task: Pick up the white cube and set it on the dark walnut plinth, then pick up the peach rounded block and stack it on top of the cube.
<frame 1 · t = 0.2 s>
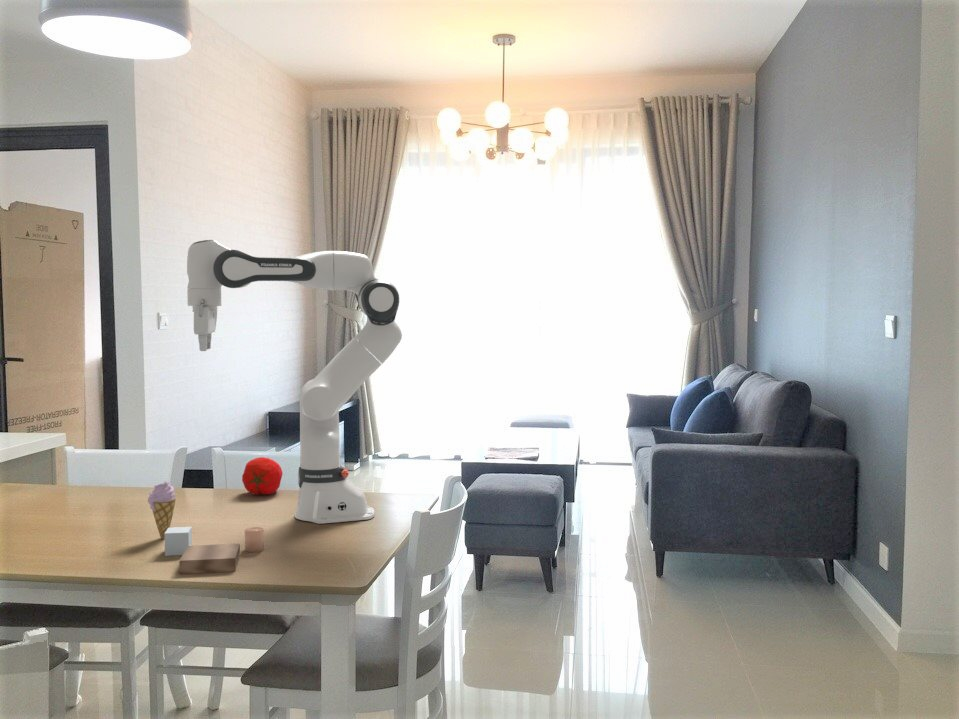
hand: (205, 350, 235), 48 cm above the table, fingers open, 8 cm apart
walnut plinth: (211, 564, 199), on the table
white cube: (178, 552, 209), on the table
ice cream cone: (162, 539, 221), on the table
tomato: (262, 494, 273), on the table
peach rounded block: (254, 549, 211), on the table
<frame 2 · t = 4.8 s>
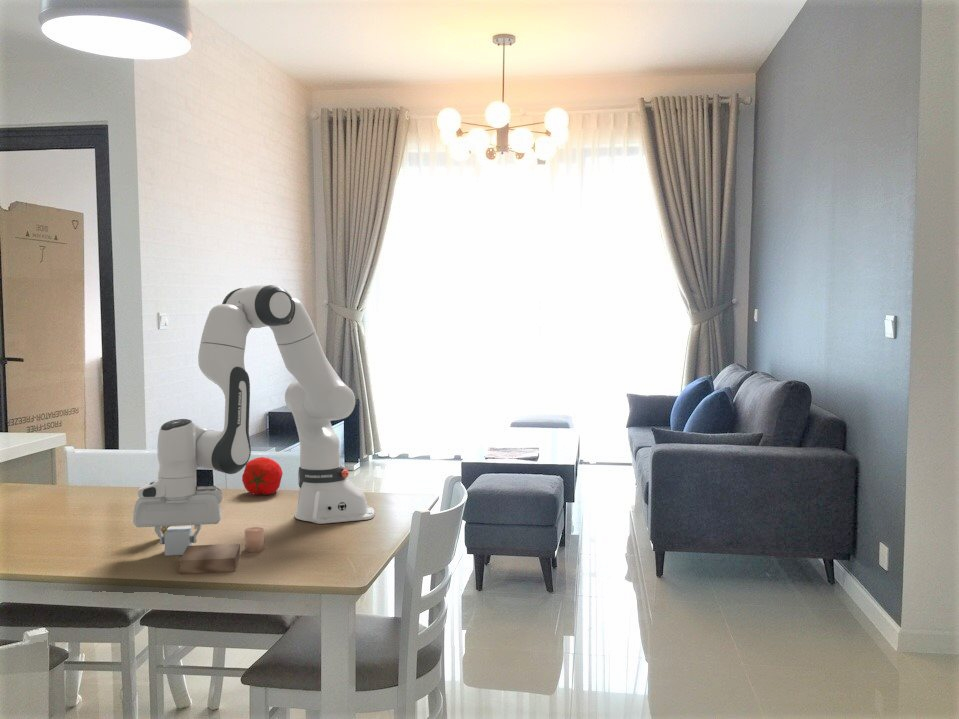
hand: (178, 543, 209), 2 cm above the table, fingers closed on white cube, 5 cm apart
white cube: (178, 551, 209), on the table, touching gripper
everything else where it was.
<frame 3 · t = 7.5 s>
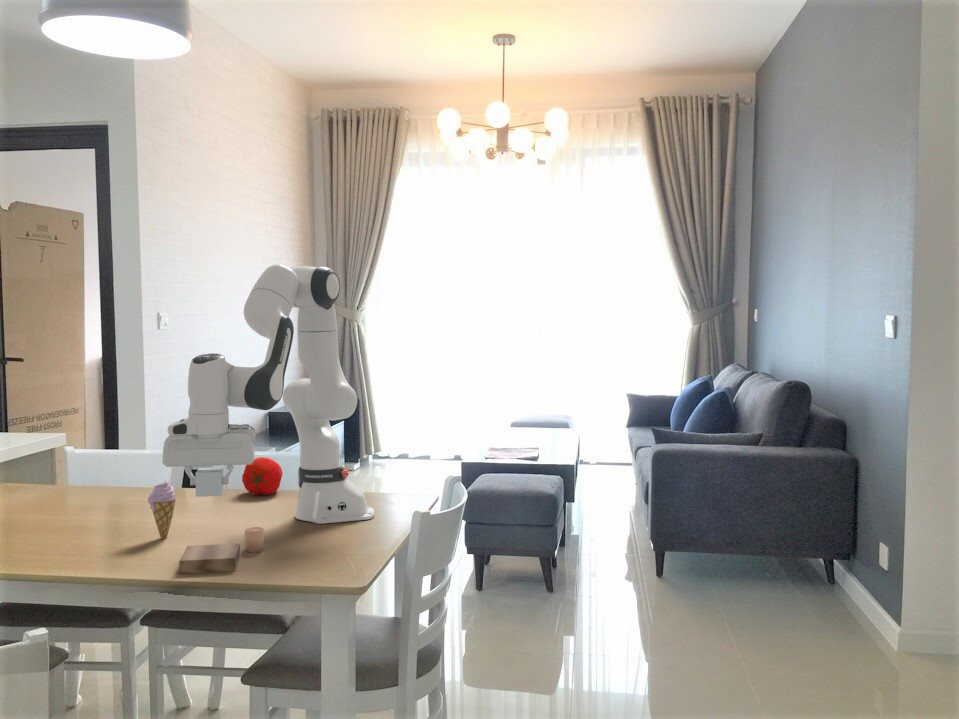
hand: (209, 484, 198), 19 cm above the table, fingers closed on white cube, 5 cm apart
white cube: (209, 493, 198), point 17 cm above the table, touching gripper
everything else where it was.
when the fingers open (6 cm above the table, at t = 10.3 s): white cube stays where it is, resting on walnut plinth.
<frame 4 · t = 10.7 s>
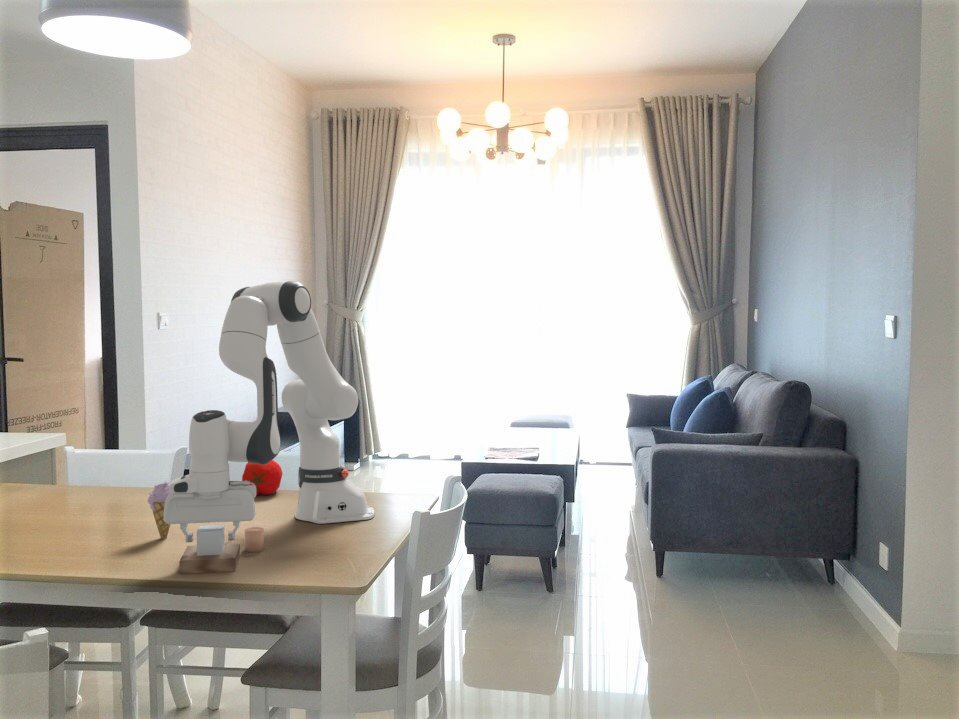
hand: (210, 540, 198), 6 cm above the table, fingers open, 8 cm apart
white cube: (211, 551, 199), point 3 cm above the table, touching walnut plinth
everything else where it was.
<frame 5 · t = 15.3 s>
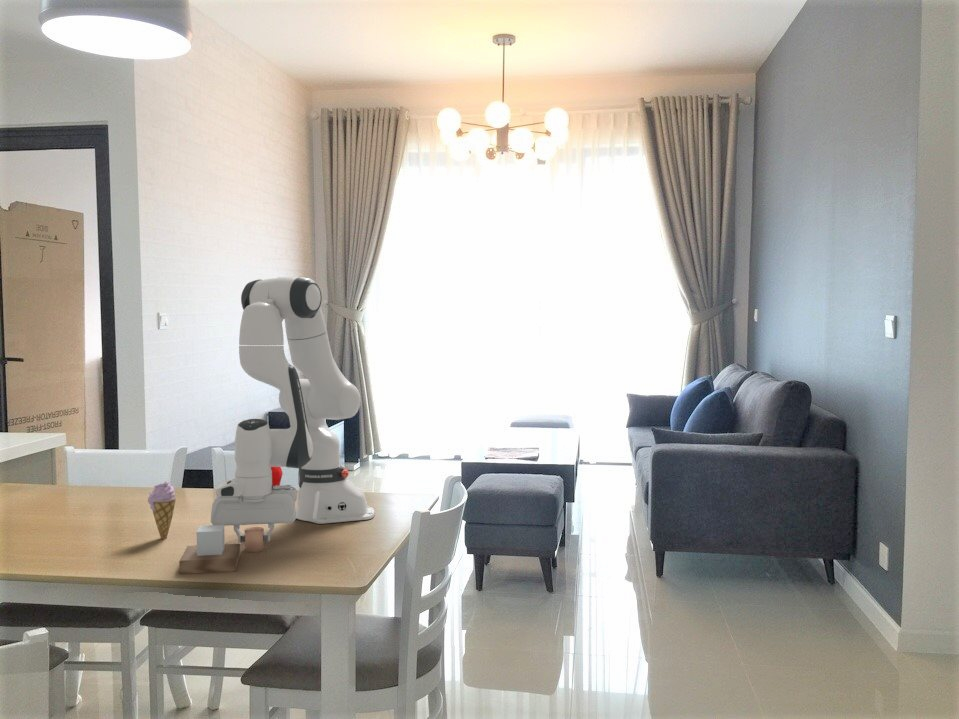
hand: (254, 541, 211), 2 cm above the table, fingers closed on peach rounded block, 5 cm apart
peach rounded block: (254, 549, 211), on the table, touching gripper
everything else where it was.
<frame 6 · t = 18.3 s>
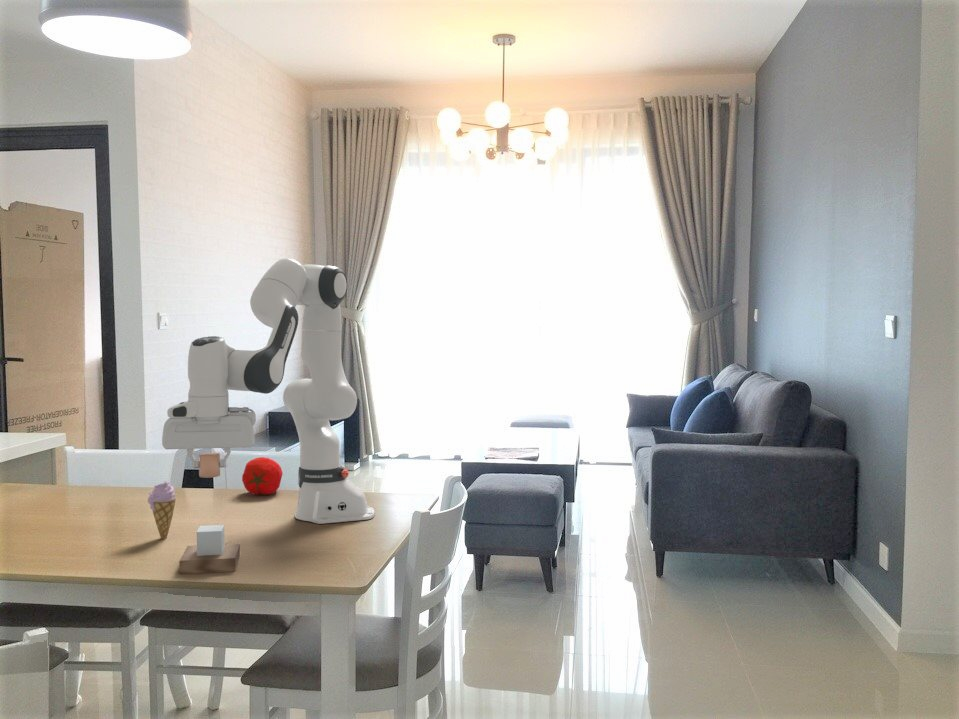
hand: (209, 467, 197), 23 cm above the table, fingers closed on peach rounded block, 5 cm apart
peach rounded block: (209, 475, 197), point 21 cm above the table, touching gripper
everything else where it was.
when the fingers open (11 cm above the table, at t = 21.2 s): peach rounded block stays where it is, resting on white cube.
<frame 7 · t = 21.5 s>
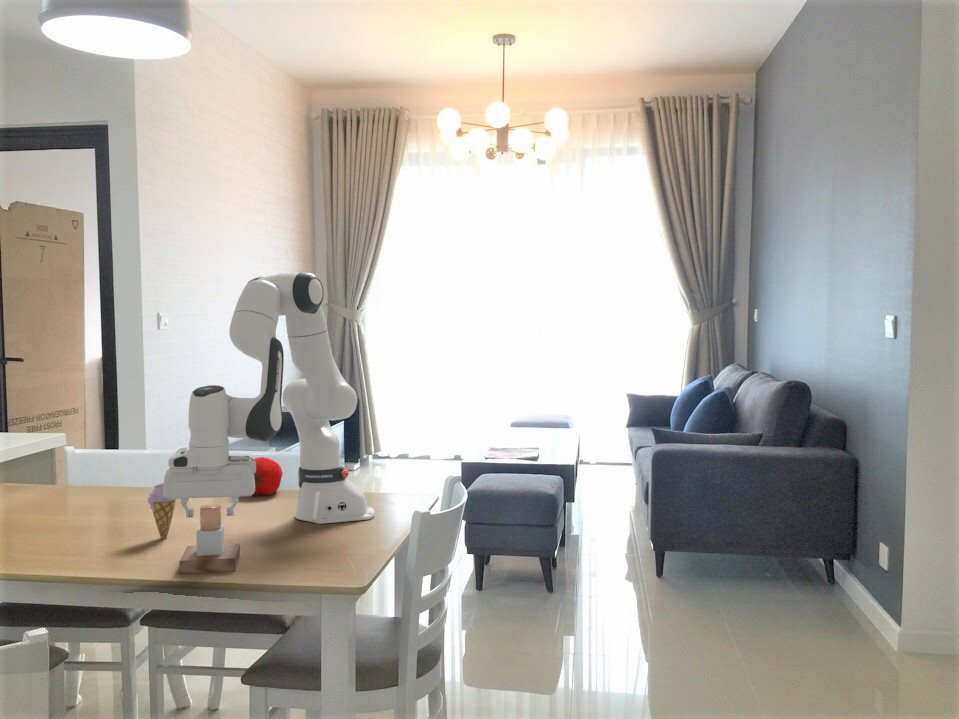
hand: (210, 516, 198), 11 cm above the table, fingers open, 8 cm apart
white cube: (210, 551, 199), point 3 cm above the table, touching peach rounded block, walnut plinth
peach rounded block: (210, 528, 198), point 9 cm above the table, touching white cube
everything else where it was.
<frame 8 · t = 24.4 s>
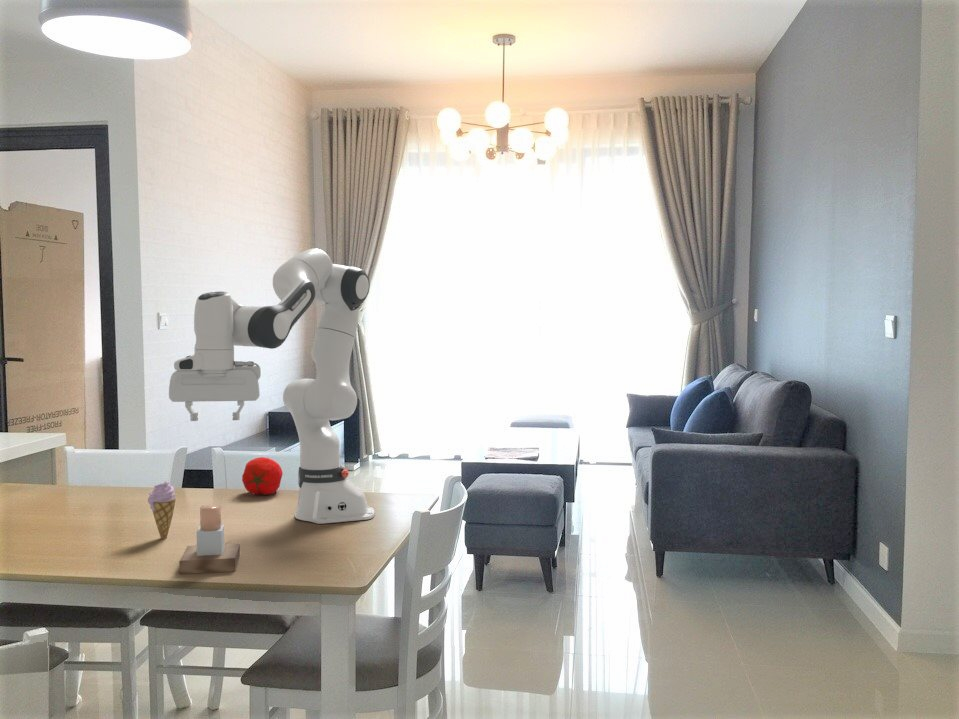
hand: (215, 420, 201), 33 cm above the table, fingers open, 8 cm apart
nothing on the table moved.
at the end: white cube inside the target area on the walnut plinth (0.0 cm from its centre), point 3.0 cm above the walnut plinth's base; peach rounded block 0.1 cm off-centre on the white cube, point 5.5 cm above the white cube's base; peach rounded block tilted 0° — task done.
